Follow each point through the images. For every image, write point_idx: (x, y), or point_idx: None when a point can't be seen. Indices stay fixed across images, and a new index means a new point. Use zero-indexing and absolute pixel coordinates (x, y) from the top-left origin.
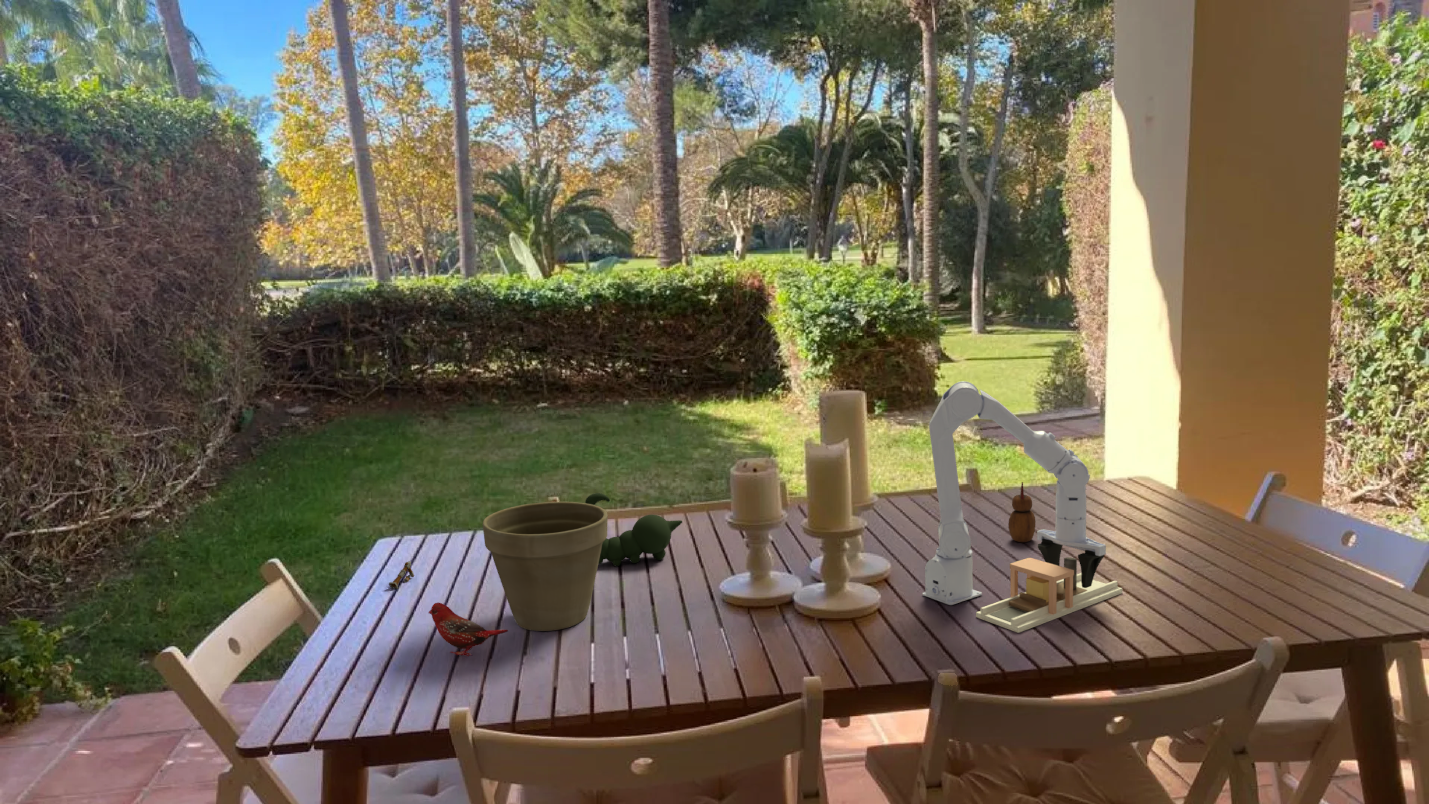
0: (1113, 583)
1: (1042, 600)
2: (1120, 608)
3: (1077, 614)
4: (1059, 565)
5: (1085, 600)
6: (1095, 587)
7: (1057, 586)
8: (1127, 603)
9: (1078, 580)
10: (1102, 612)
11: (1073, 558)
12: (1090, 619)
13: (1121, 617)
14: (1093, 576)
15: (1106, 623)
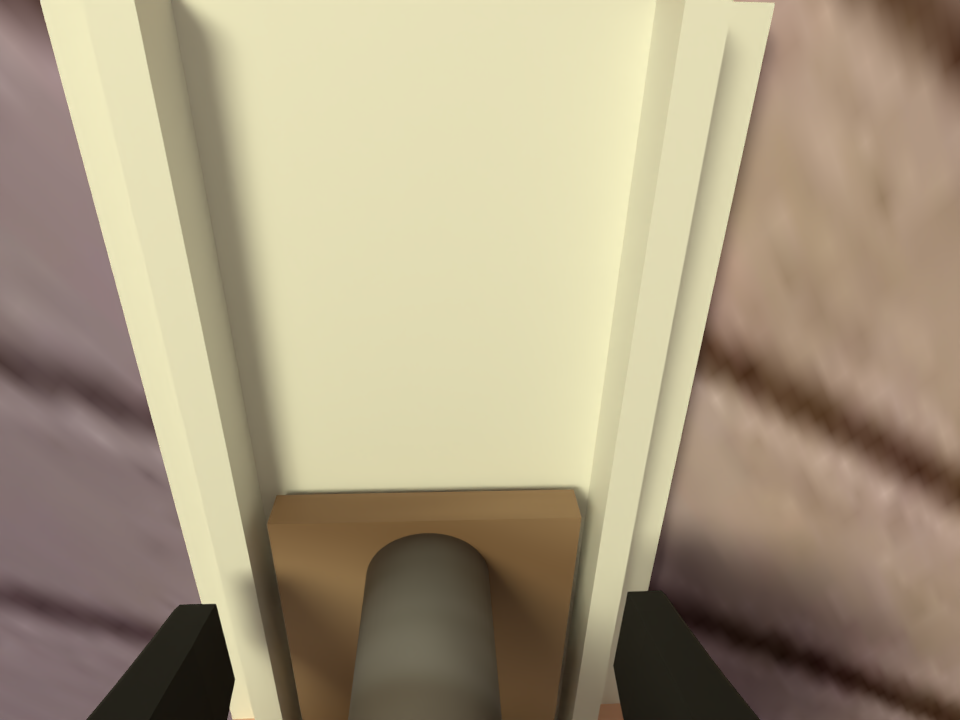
0: (707, 116)
1: None
2: (871, 406)
3: None
4: (153, 711)
5: (625, 572)
6: (501, 241)
7: (326, 624)
8: (892, 260)
9: (205, 191)
10: (778, 554)
11: None
12: (759, 674)
13: (928, 537)
14: (727, 687)
15: (867, 658)
